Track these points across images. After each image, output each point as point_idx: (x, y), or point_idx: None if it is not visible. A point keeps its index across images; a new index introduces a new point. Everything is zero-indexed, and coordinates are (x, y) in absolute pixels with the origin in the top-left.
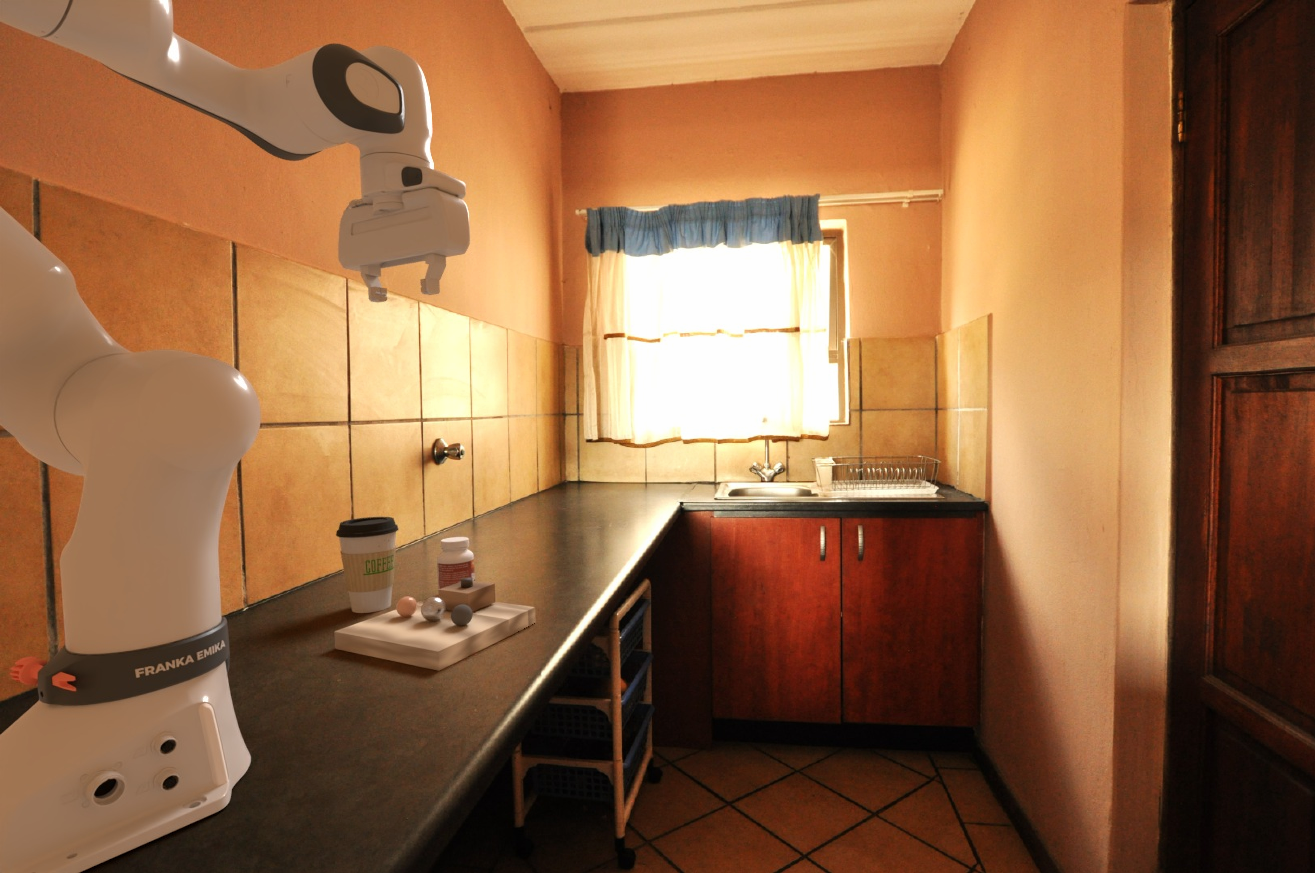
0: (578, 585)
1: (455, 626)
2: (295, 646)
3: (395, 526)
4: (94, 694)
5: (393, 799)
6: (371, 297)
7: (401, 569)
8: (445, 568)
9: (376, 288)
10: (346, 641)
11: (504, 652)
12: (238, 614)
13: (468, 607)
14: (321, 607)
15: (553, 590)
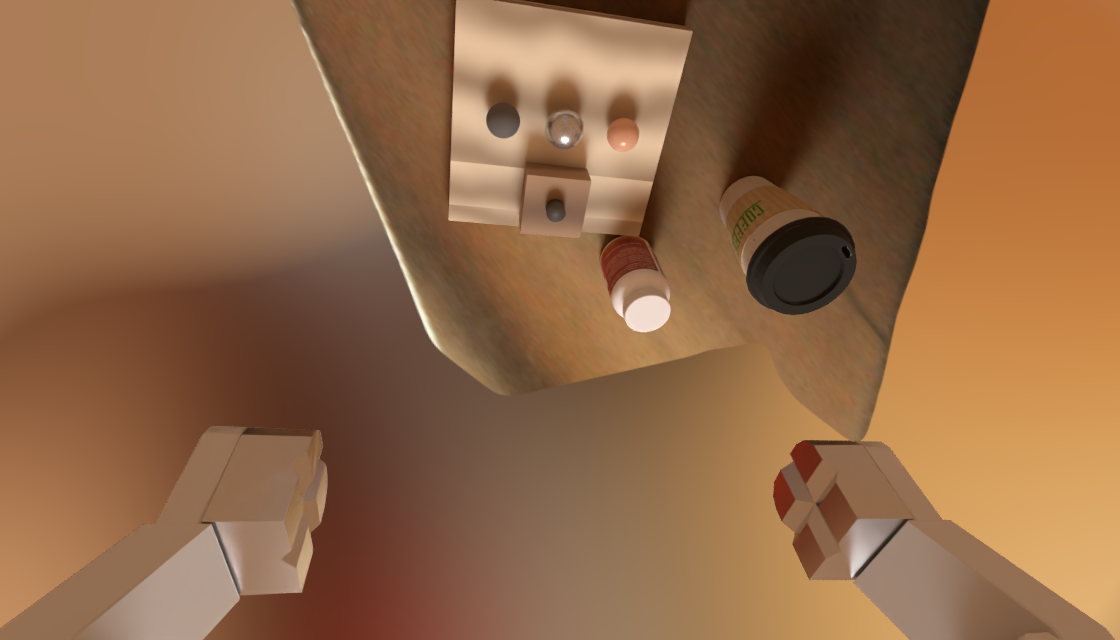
0: (492, 360)
1: None
2: (757, 16)
3: (753, 289)
4: None
5: None
6: (863, 449)
7: (807, 358)
8: (639, 264)
9: (845, 507)
10: (662, 24)
11: (413, 88)
12: (951, 117)
13: (492, 128)
14: (829, 181)
15: (514, 334)
